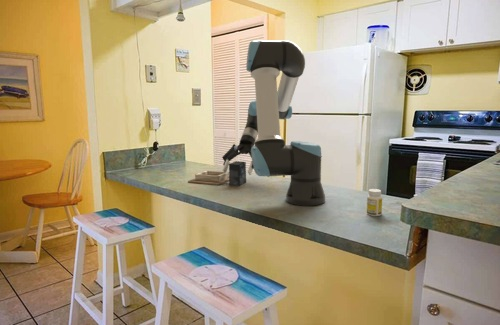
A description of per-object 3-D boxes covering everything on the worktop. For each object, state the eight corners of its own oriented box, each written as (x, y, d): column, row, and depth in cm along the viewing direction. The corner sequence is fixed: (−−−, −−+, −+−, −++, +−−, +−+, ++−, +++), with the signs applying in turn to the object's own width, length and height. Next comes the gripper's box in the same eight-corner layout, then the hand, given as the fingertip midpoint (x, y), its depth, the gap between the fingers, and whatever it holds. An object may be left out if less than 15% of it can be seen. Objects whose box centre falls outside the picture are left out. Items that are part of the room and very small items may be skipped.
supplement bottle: (378, 211, 116) (379, 188, 115) (383, 216, 111) (385, 191, 110) (364, 212, 116) (365, 188, 114) (369, 216, 111) (370, 192, 110)
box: (239, 186, 157) (239, 164, 155) (229, 185, 159) (228, 163, 158) (246, 182, 164) (246, 161, 162) (236, 181, 167) (235, 160, 165)
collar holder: (219, 185, 159) (219, 178, 159) (187, 182, 166) (187, 175, 166) (235, 177, 175) (235, 171, 175) (206, 175, 183) (206, 169, 182)
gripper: (273, 143, 169) (262, 178, 158) (229, 142, 179) (216, 175, 168) (269, 134, 163) (258, 169, 152) (224, 133, 173) (211, 166, 162)
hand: (236, 172), depth 160 cm, fingers open, 13 cm apart
